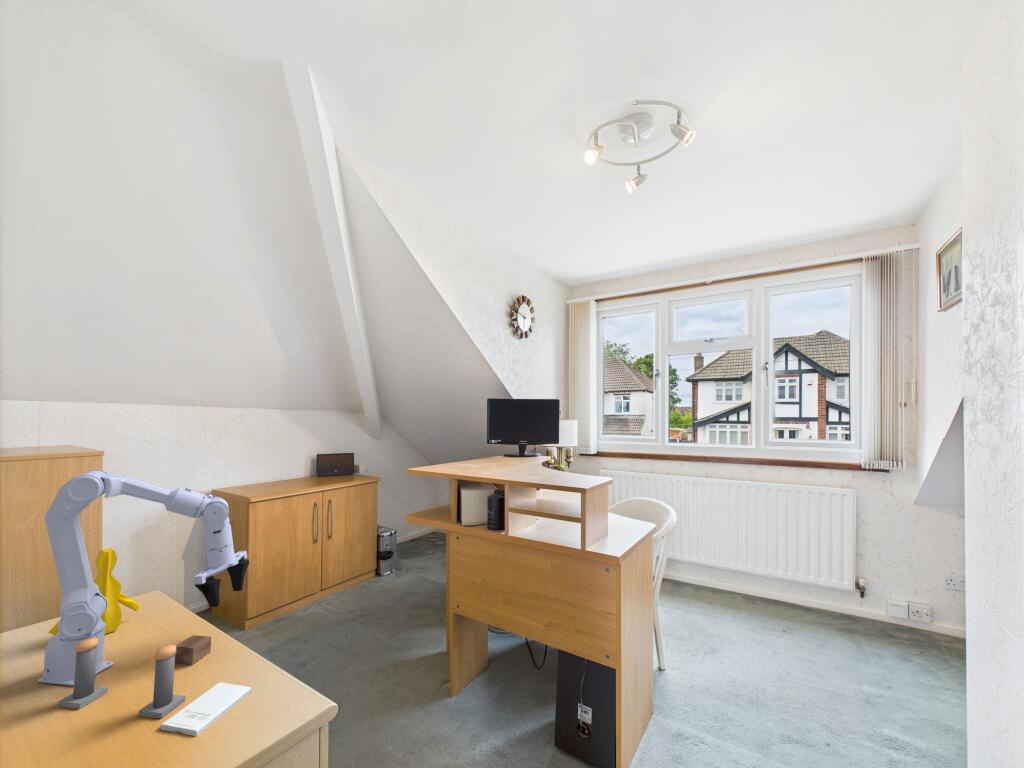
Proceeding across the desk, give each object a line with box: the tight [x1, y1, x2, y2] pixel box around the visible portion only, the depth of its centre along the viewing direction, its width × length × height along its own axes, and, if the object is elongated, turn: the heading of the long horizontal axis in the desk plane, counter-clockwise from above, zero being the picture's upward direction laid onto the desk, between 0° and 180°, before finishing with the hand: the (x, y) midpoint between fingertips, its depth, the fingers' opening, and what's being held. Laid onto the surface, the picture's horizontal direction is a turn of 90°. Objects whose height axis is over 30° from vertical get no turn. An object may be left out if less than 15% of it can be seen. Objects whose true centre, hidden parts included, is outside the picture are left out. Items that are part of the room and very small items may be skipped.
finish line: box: [57, 638, 186, 719], centre depth 86 cm, size 23×5×11 cm, turn 83°
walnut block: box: [175, 634, 212, 666], centre depth 101 cm, size 5×5×4 cm
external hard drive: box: [159, 682, 252, 737], centre depth 84 cm, size 2×8×12 cm
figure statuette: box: [47, 547, 141, 636], centre depth 112 cm, size 18×8×22 cm, turn 147°
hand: (226, 598), depth 110 cm, fingers open, 7 cm apart
